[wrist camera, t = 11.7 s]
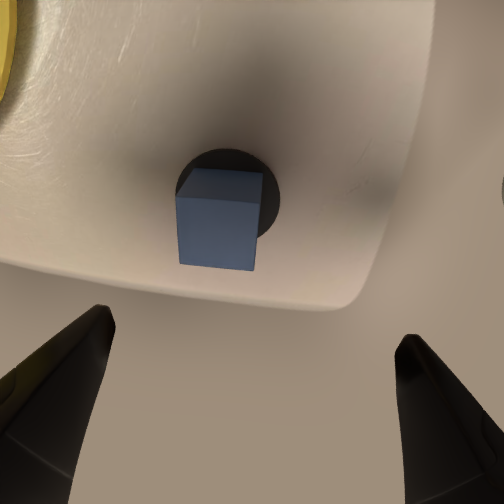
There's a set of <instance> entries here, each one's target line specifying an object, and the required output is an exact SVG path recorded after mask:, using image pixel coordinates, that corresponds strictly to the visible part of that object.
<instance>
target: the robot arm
mask: <svg viewBox="0 0 504 504" xmlns="http://www.w3.org/2000/svg"><path fill="white" fill-rule="evenodd" d="M115 328H116V326H115V322H114V319H113V316H112V313H111V310H110V308H109V307H108V306H106V305H100V304H97V305H95V306H93V307H92V308H90V309H89V310H88V311H87V312H85V313H84V314H82V315H81V316H80V317H79V318H77V319H76V320H74V321H73V322H72V323H71V324H69V325H68V326H67V327H65V328H64V329H63V330H61V331H60V332H59V333H57V334H56V335H55V336H54V337H52V338H51V339H50V340H49V341H47V342H46V343H45V344H43V345H42V346H41V347H40V348H38V349H37V350H36V351H35V352H33V353H32V354H31V355H30V356H28V357H27V358H26V359H25V360H24V361H22V362H21V363H20V364H18V365H17V366H16V368H13V369H12V370H11V371H10V372H9V373H7V374H6V375H5V376H4V377H2V378H1V379H0V504H68V500H69V495H70V491H71V486H72V482H73V477H74V473H75V469H76V465H77V461H78V457H79V454H80V450H81V446H82V443H83V439H84V436H85V432H86V429H87V426H88V423H89V419H90V416H91V413H92V410H93V406H94V403H95V400H96V397H97V394H98V391H99V388H100V385H101V383H102V379H103V377H104V373H105V370H106V366H107V362H108V357H109V353H110V349H111V345H112V341H113V337H114V333H115ZM395 372H396V396H397V406H398V413H399V422H400V431H401V441H402V452H403V466H404V483H405V504H504V432H503V431H502V430H501V429H500V428H499V427H498V426H497V424H496V423H495V422H494V421H493V420H492V418H491V417H490V416H489V415H488V414H487V413H486V411H485V410H483V408H482V406H481V405H480V404H479V403H478V402H477V400H476V399H475V398H474V397H473V396H472V394H471V393H470V392H469V391H468V390H467V388H466V387H465V386H464V385H463V384H462V383H461V381H460V380H459V379H458V378H457V377H456V376H455V375H454V373H453V372H452V371H451V370H450V369H449V368H448V367H447V365H446V364H445V363H444V362H443V361H442V360H441V359H440V358H439V357H438V355H437V354H436V353H435V352H434V351H433V350H432V349H431V348H430V347H429V346H428V344H427V343H426V342H425V341H424V340H423V339H422V338H421V337H420V336H419V335H417V334H407V335H405V336H404V338H403V339H402V341H401V343H400V344H399V346H398V348H397V349H396V351H395Z"/></svg>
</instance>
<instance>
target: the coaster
mask: <svg viewBox="0 0 504 504" xmlns="http://www.w3.org/2000/svg"><path fill="white" fill-rule="evenodd" d="M194 168H204V169H220V170H233V171H246V172H257V173H263V180H262V192H261V203H260V214H259V224H258V234H257V238H258V237H260V236H261V235H263V234H264V233H265V232H266V231H267V230H268V229H269V228H270V227H271V226H272V224H273V223H274V221H275V219H276V217H277V215H278V211H279V206H280V192H279V187H278V184H277V181H276V179H275V177H274V175H273V174H272V172H271V171H270V169H269V168H268V167H267V166H266V165H265V164H264V163H263V162H262V161H260V160H259V159H258V158H256V157H255V156H253V155H251V154H249V153H246V152H243V151H240V150H235V149H216V150H211V151H208V152H205V153H203V154H201V155H199V156H198V157H196V158H195V159H193V160H192V161H191V162H190V163H189V164H188V165H187V166H186V168H185V169H184V170H183V171H182V173H181V175H180V177H179V179H178V182H177V186H176V193H175V197H176V195H177V193H178V192H179V190H180V189H181V187H182V186H183V184H184V183H185V181H186V180H187V178H188V177H189V175H190V174H191V172H192V171H193V169H194Z"/></svg>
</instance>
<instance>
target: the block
mask: <svg viewBox="0 0 504 504" xmlns="http://www.w3.org/2000/svg"><path fill="white" fill-rule="evenodd" d="M262 180H263V173H257V172H246V171H233V170H220V169H204V168H194V169H193V171H192V172H191V174H190V175H189V177H188V178H187V180H186V181H185V183H184V184H183V186H182V187H181V189H180V190H179V192H178V193H177V195H176V197H175V201H176V219H177V235H178V249H179V262H180V264H186V265H195V266H205V267H215V268H224V269H235V270H245V271H254V265H255V255H256V244H257V234H258V224H259V214H260V203H261V192H262Z"/></svg>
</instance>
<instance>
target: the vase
mask: <svg viewBox="0 0 504 504" xmlns="http://www.w3.org/2000/svg"><path fill="white" fill-rule="evenodd" d="M16 33H17V1H16V0H0V103H1V100H2V97H3V95H4V92H5V89H6V86H7V84H8V79H9V74H10V70H11V65H12V61H13V57H14V49H15V40H16Z"/></svg>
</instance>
